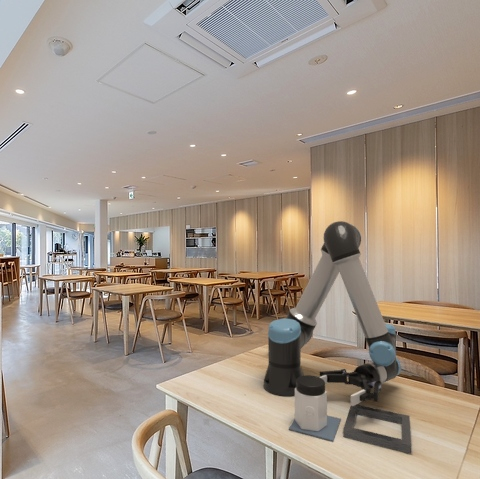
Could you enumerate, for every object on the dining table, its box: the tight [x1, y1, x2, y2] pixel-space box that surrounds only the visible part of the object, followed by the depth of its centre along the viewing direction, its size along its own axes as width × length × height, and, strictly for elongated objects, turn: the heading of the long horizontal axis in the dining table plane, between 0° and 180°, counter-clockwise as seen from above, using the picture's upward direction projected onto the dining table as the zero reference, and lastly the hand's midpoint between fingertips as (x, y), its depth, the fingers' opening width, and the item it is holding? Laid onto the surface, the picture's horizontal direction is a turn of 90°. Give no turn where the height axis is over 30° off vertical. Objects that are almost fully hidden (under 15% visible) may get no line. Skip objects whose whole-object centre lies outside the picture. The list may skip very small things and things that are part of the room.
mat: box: [288, 414, 342, 443], centre depth 90 cm, size 12×12×1 cm
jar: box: [294, 374, 328, 432], centre depth 91 cm, size 9×8×12 cm
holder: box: [342, 404, 412, 455], centre depth 88 cm, size 16×16×2 cm
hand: (331, 392), depth 94 cm, fingers open, 13 cm apart
